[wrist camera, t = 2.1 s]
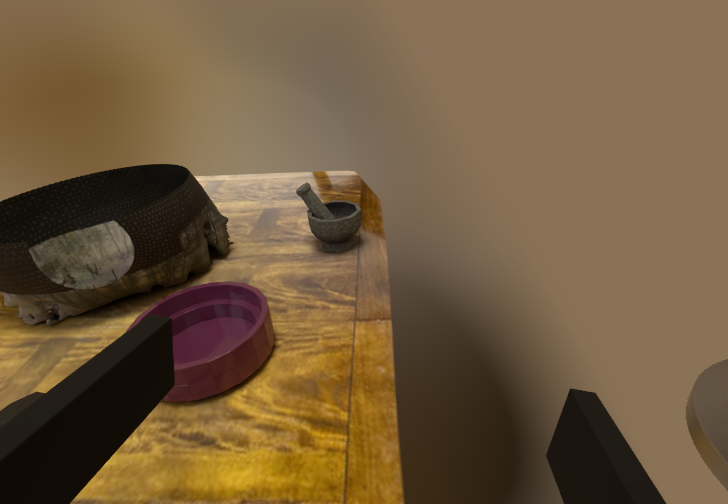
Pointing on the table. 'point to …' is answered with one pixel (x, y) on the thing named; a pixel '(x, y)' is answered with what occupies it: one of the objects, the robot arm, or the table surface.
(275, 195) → the table surface
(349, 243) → the mortar and pestle
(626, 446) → the robot arm
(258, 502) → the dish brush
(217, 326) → the bowl
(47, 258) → the basket
